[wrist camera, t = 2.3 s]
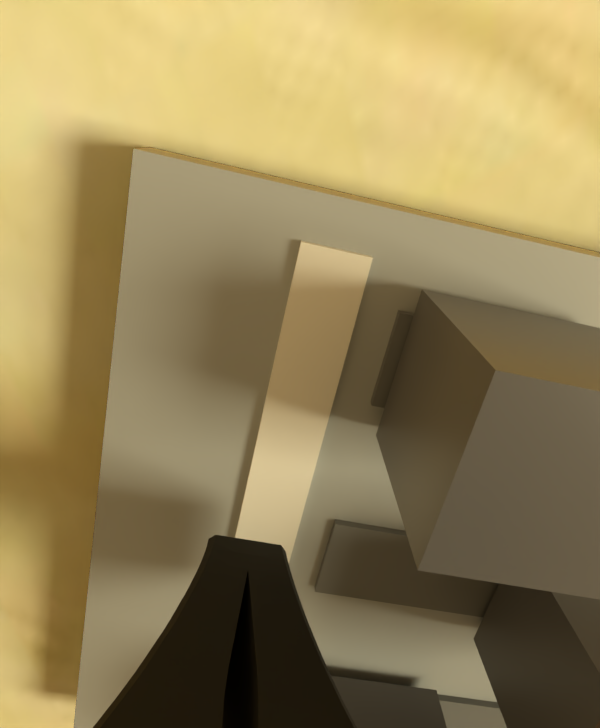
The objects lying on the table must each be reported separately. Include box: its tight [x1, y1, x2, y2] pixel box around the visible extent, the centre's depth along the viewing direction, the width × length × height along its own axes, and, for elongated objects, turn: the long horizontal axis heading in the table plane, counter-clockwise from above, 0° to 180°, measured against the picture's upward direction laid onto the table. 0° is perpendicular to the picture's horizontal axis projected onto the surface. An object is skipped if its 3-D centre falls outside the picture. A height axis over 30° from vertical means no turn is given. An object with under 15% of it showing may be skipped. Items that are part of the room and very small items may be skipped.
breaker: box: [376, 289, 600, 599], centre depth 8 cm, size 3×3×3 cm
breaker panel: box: [74, 147, 600, 728], centre depth 12 cm, size 14×20×1 cm
